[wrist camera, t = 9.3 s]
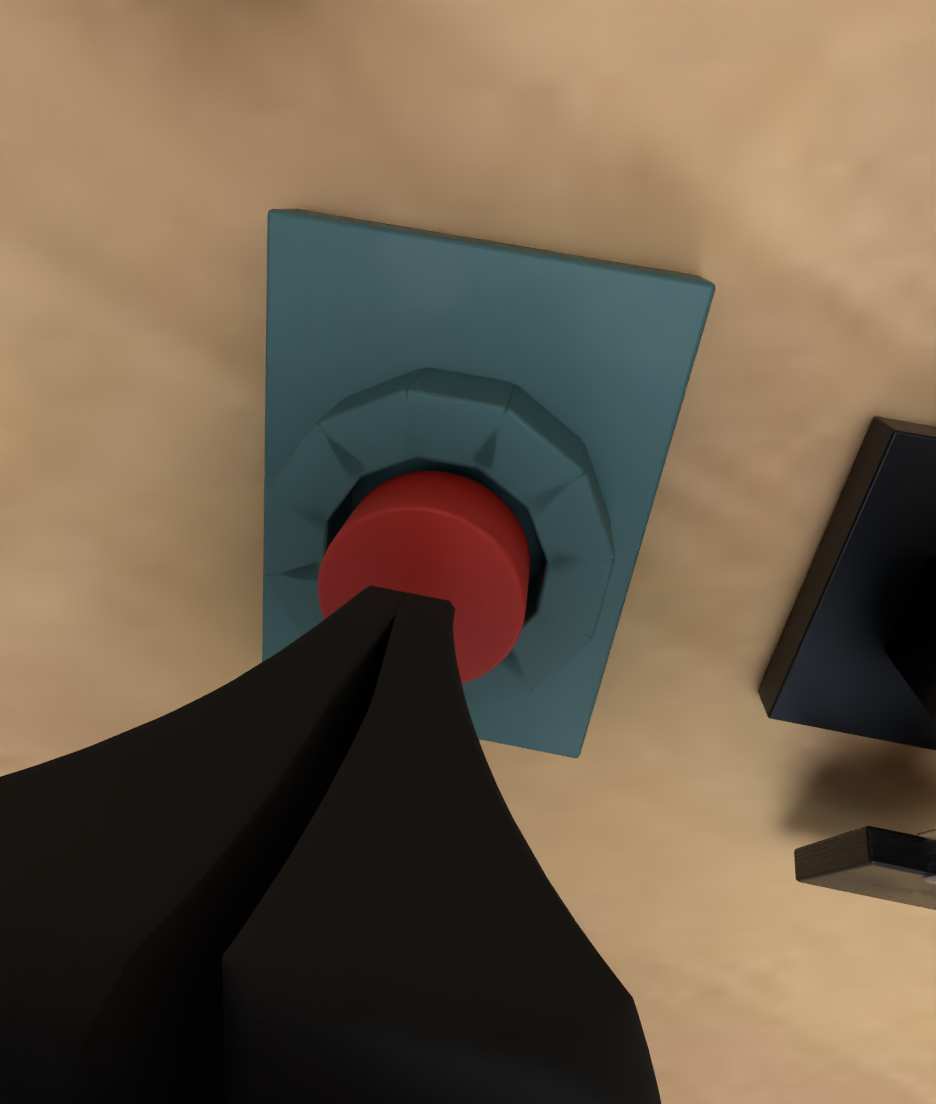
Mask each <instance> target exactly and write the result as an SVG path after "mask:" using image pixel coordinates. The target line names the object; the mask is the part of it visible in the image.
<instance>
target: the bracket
mask: <svg viewBox="0 0 936 1104" xmlns="http://www.w3.org/2000/svg"><path fill="white" fill-rule="evenodd" d="M758 693H759V696H760V698H761V701H762V703H763V706H764V708H765V711H766V713H767V716H768V717H769V718H772V719H777V720H782V721H787V722H792V723H797V724H802V725H808V726H813V727H818V728H823V729H828V730H833V731H838V732H843V733H849V734H854V735H859V736H864V737H869V738H874V739H879V740H884V741H890V742H895V743H900V744H905V745H910V746H915V747H920V748H926V749H931V750H936V427H931V426H925V425H920V424H914V423H908V422H902V421H897V420H891V419H885V418H879V417H876V418H874V420H873V422H872V424H871V427H870V429H869V431H868V434H867V436H866V438H865V441H864V443H863V446H862V448H861V450H860V453H859V455H858V457H857V460H856V462H855V464H854V467H853V469H852V472H851V474H850V476H849V479H848V481H847V483H846V486H845V488H844V490H843V493H842V495H841V498H840V500H839V502H838V505H837V507H836V509H835V512H834V514H833V516H832V519H831V521H830V524H829V526H828V528H827V531H826V533H825V535H824V538H823V540H822V542H821V545H820V547H819V550H818V552H817V554H816V557H815V559H814V561H813V564H812V566H811V568H810V571H809V573H808V575H807V578H806V580H805V583H804V585H803V587H802V590H801V592H800V594H799V597H798V599H797V601H796V604H795V606H794V609H793V611H792V613H791V616H790V618H789V620H788V623H787V625H786V627H785V630H784V632H783V635H782V637H781V639H780V642H779V644H778V646H777V649H776V651H775V653H774V656H773V658H772V661H771V663H770V665H769V668H768V670H767V672H766V675H765V677H764V679H763V682H762V684H761V687H760V689H759V691H758Z"/></svg>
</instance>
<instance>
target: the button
mask: <svg viewBox="0 0 936 1104" xmlns="http://www.w3.org/2000/svg"><path fill="white" fill-rule="evenodd" d="M529 571H530V553H529V547H528V543H527V539H526V536H525V533H524V531H523V529H522V527H521V524H520V522H519V521H518V519H517V518H516V516H515V515H514V513H513V512H512V510H511V509H510V508H509V507H508V506H507V505H506V503H505V502H504V501H503V500H501V499H500V498H499V497H498V496H497V495H496V494H495V493H493V492H492V491H491V490H489V489H488V488H486V487H485V486H483V485H481V484H479V483H477V482H475V481H474V480H471V479H469V478H466V477H463V476H461V475H457V474H453V473H449V472H441V471H417V472H410V473H406V474H402V475H399V476H396V477H393V478H391V479H389V480H386V481H385V482H383V483H381V484H380V485H378V486H376V487H375V488H374V489H373V490H371V491H370V492H369V493H368V494H367V495H366V496H365V497H364V498H363V499H362V500H361V501H360V502H359V504H358V505H357V506H356V508H355V509H354V511H353V512H352V514H351V515H350V516H349V518H348V519H347V521H346V522H345V524H344V525H343V527H342V528H341V529H340V531H339V532H338V534H337V535H336V537H335V538H334V539H333V541H332V542H331V544H330V545H329V547H328V549H327V551H326V553H325V555H324V557H323V559H322V563H321V566H320V570H319V577H318V596H319V602H320V608H321V611H322V614H323V617H324V619H325V618H327V617H328V616H329V615H331V614H332V613H333V612H335V611H336V610H337V609H339V608H340V607H341V606H343V605H344V604H345V603H346V602H348V601H349V600H350V599H352V598H353V597H354V596H355V595H357V594H358V593H359V592H361V591H362V590H364V589H365V588H367V587H368V586H370V585H371V586H376V587H381V588H387V589H392V590H397V591H402V592H408V593H413V594H418V595H423V596H428V597H434V598H439V599H444V600H449V601H450V602H451V603H452V605H453V606H454V607H455V609H456V610H455V616H454V622H453V633H454V644H455V652H456V659H457V664H458V669H459V673H460V678H461V682H462V684H463V683H466V682H470V681H472V680H474V679H476V678H478V677H481V676H482V675H484V674H486V673H487V672H489V671H490V670H492V669H493V668H494V667H495V666H497V665H498V664H499V663H500V662H501V661H502V660H503V659H504V658H505V657H506V656H507V655H508V654H509V653H510V651H511V650H512V648H513V647H514V645H515V644H516V642H517V640H518V637H519V635H520V633H521V630H522V627H523V624H524V619H525V611H526V602H527V592H528V582H529Z"/></svg>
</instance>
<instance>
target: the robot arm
mask: <svg viewBox="0 0 936 1104" xmlns="http://www.w3.org/2000/svg"><path fill="white" fill-rule="evenodd" d="M455 610H456V609H455V607H454V606H453V605H452V603H451V602H450V601H449V600H444V599H439V598H434V597H428V596H423V595H418V594H413V593H408V592H402V591H397V590H392V589H387V588H381V587H376V586H371V585H370V586H368V587H367V588H365V589H364V590H362V591H361V592H359V593H358V594H357V595H355V596H354V597H353V598H352V599H350V600H349V601H348V602H346V603H345V604H344V605H343V606H341V607H340V608H339V609H337V610H336V611H335V612H333V613H332V614H331V615H329V616H328V617H327V618H325V619H324V620H323V621H321V622H320V623H319V624H318V625H316V626H315V627H313V628H312V629H311V630H309V631H308V632H306V633H305V634H303V635H302V636H301V637H299V638H298V639H296V640H295V641H294V642H292V643H291V644H289V645H288V646H286V647H285V648H284V649H282V650H281V651H279V652H278V653H276V654H275V655H273V656H271V657H270V658H268V659H267V660H265V661H263V662H262V663H260V664H259V665H257V666H255V667H254V668H252V669H251V670H249V671H247V672H246V673H244V674H243V675H241V676H239V677H238V678H236V679H234V680H233V681H231V682H229V683H227V684H226V685H224V686H222V687H220V688H218V689H217V690H215V691H213V692H211V693H209V694H207V695H205V696H203V697H201V698H199V699H197V700H195V701H193V702H191V703H189V704H187V705H185V706H183V707H181V708H179V709H177V710H175V711H173V712H171V713H169V714H166V715H164V716H162V717H160V718H157V719H155V720H153V721H150V722H148V723H145V724H143V725H141V726H138V727H136V728H133V729H131V730H128V731H126V732H124V733H121V734H119V735H116V736H114V737H111V738H109V739H107V740H104V741H102V742H99V743H97V744H95V745H92V746H90V747H87V748H84V749H82V750H79V751H76V752H73V753H70V754H68V755H65V756H62V757H59V758H56V759H53V760H50V761H48V762H45V763H42V764H39V765H36V766H33V767H30V768H27V769H24V770H20V771H17V772H14V773H11V774H8V775H5V776H2V777H0V1104H661V1100H660V1095H659V1090H658V1086H657V1081H656V1077H655V1073H654V1069H653V1065H652V1061H651V1057H650V1053H649V1049H648V1046H647V1043H646V1039H645V1036H644V1032H643V1029H642V1026H641V1022H640V1019H639V1015H638V1012H637V1009H636V1006H635V1003H634V1000H633V997H632V996H631V995H630V994H629V992H628V991H627V990H626V988H625V987H624V986H623V985H622V983H621V982H620V981H619V979H618V978H617V977H616V975H615V974H614V973H613V972H612V970H611V969H610V968H609V966H608V965H607V964H606V962H605V961H604V960H603V958H602V957H601V956H600V954H599V953H598V952H597V950H596V949H595V947H594V946H593V945H592V943H591V942H590V941H589V939H588V938H587V936H586V935H585V934H584V932H583V931H582V929H581V928H580V927H579V925H578V924H577V922H576V921H575V920H574V918H573V916H572V915H571V913H570V912H569V910H568V909H567V907H566V906H565V904H564V903H563V901H562V900H561V898H560V897H559V895H558V894H557V892H556V891H555V889H554V888H553V886H552V885H551V883H550V882H549V880H548V878H547V877H546V875H545V873H544V872H543V870H542V868H541V866H540V865H539V863H538V861H537V859H536V858H535V856H534V854H533V852H532V851H531V849H530V847H529V845H528V844H527V842H526V840H525V838H524V837H523V835H522V833H521V831H520V830H519V828H518V826H517V824H516V823H515V821H514V819H513V817H512V815H511V813H510V811H509V809H508V807H507V805H506V803H505V801H504V799H503V797H502V795H501V792H500V790H499V788H498V786H497V784H496V782H495V779H494V777H493V775H492V772H491V770H490V768H489V765H488V763H487V761H486V758H485V756H484V753H483V751H482V748H481V745H480V742H479V740H478V737H477V734H476V731H475V728H474V725H473V722H472V719H471V716H470V712H469V709H468V706H467V702H466V699H465V695H464V691H463V687H462V682H461V678H460V673H459V669H458V664H457V659H456V652H455V644H454V633H453V622H454V616H455Z"/></svg>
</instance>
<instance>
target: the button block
mask: <svg viewBox="0 0 936 1104" xmlns="http://www.w3.org/2000/svg"><path fill="white" fill-rule="evenodd" d="M714 292H715V285H714V284H713V283H712V282H710V281H708V280H706V279H704V278H702V277H700V276H696V275H690V274H684V273H678V272H672V271H666V270H660V269H654V268H648V267H642V266H636V265H630V264H624V263H618V262H612V261H606V260H600V259H594V258H588V257H582V256H576V255H570V254H564V253H558V252H552V251H546V250H540V249H534V248H528V247H522V246H516V245H510V244H504V243H498V242H492V241H486V240H480V239H474V238H468V237H462V236H456V235H450V234H444V233H438V232H432V231H426V230H420V229H414V228H408V227H402V226H396V225H390V224H384V223H378V222H372V221H366V220H360V219H354V218H348V217H342V216H336V215H330V214H324V213H318V212H312V211H306V210H300V209H272V210H269V212H268V235H267V319H266V402H265V486H264V570H263V654H262V662H263V661H265V660H267V659H268V658H270V657H271V656H273V655H275V654H276V653H278V652H279V651H281V650H282V649H284V648H285V647H286V646H288V645H289V644H291V643H292V642H294V641H295V640H296V639H298V638H299V637H301V636H302V635H303V634H305V633H306V632H308V631H309V630H311V629H312V628H313V627H315V626H316V625H318V624H319V623H320V622H321V621H323V620H324V617H323V614H322V611H321V608H320V602H319V596H318V577H319V570H320V566H321V563H322V559H323V557H324V555H325V553H326V551H327V549H328V547H329V545H330V544H331V542H332V541H333V539H334V538H335V537H336V535H337V534H338V532H339V531H340V529H341V528H342V527H343V525H344V524H345V522H346V521H347V519H348V518H349V516H350V515H351V514H352V512H353V511H354V509H355V508H356V506H357V505H358V504H359V502H360V501H361V500H362V499H363V498H364V497H365V496H366V495H367V494H368V493H369V492H370V491H371V490H373V489H374V488H375V487H376V486H378V485H380V484H381V483H383V482H385V481H386V480H389V479H391V478H393V477H396V476H399V475H402V474H406V473H410V472H417V471H441V472H449V473H453V474H457V475H461V476H463V477H466V478H469V479H471V480H474V481H475V482H477V483H479V484H481V485H483V486H485V487H486V488H488V489H489V490H491V491H492V492H493V493H495V494H496V495H497V496H498V497H499V498H500V499H501V500H503V501H504V502H505V503H506V505H507V506H508V507H509V508H510V509H511V510H512V512H513V513H514V515H515V516H516V518H517V519H518V521H519V522H520V524H521V527H522V529H523V531H524V533H525V536H526V539H527V543H528V547H529V553H530V571H529V582H528V592H527V602H526V611H525V619H524V624H523V627H522V630H521V633H520V635H519V637H518V640H517V642H516V644H515V645H514V647H513V648H512V650H511V651H510V653H509V654H508V655H507V656H506V657H505V658H504V659H503V660H502V661H501V662H500V663H499V664H498V665H497V666H495V667H494V668H493V669H492V670H490V671H489V672H487V673H486V674H484V675H482V676H481V677H478V678H476V679H474V680H472V681H470V682H466V683H463V684H462V687H463V691H464V695H465V699H466V702H467V706H468V709H469V712H470V716H471V719H472V722H473V725H474V728H475V731H476V734H477V737H478V739H482V740H487V741H492V742H497V743H502V744H507V745H512V746H517V747H522V748H527V749H532V750H537V751H542V752H547V753H552V754H557V755H562V756H567V757H572V758H578V757H579V755H580V753H581V749H582V746H583V742H584V739H585V736H586V732H587V729H588V725H589V722H590V718H591V715H592V711H593V708H594V705H595V701H596V698H597V694H598V691H599V687H600V684H601V680H602V677H603V674H604V670H605V667H606V663H607V660H608V656H609V653H610V649H611V646H612V643H613V639H614V636H615V632H616V629H617V625H618V622H619V619H620V615H621V612H622V608H623V605H624V601H625V598H626V594H627V591H628V588H629V584H630V581H631V577H632V574H633V570H634V567H635V563H636V560H637V557H638V553H639V550H640V546H641V543H642V539H643V536H644V532H645V529H646V526H647V522H648V519H649V515H650V512H651V508H652V505H653V502H654V498H655V495H656V491H657V488H658V484H659V481H660V477H661V474H662V471H663V467H664V464H665V460H666V457H667V453H668V450H669V446H670V443H671V440H672V436H673V433H674V429H675V426H676V422H677V419H678V415H679V412H680V409H681V405H682V402H683V398H684V395H685V391H686V388H687V384H688V381H689V378H690V374H691V371H692V367H693V364H694V360H695V357H696V354H697V350H698V347H699V343H700V340H701V336H702V333H703V329H704V326H705V323H706V319H707V316H708V312H709V309H710V305H711V302H712V298H713V295H714Z"/></svg>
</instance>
